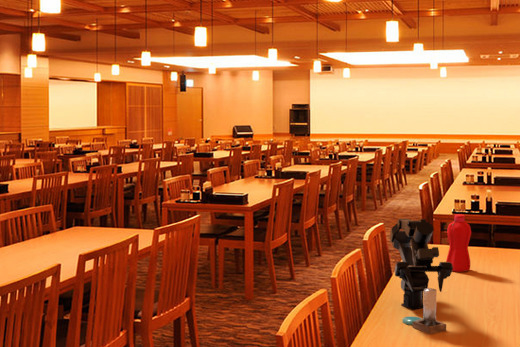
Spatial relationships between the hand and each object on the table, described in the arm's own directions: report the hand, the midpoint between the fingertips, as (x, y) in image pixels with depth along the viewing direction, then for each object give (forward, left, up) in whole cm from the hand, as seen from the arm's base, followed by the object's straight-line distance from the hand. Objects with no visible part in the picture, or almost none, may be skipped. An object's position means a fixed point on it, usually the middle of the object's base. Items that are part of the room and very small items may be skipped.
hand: (426, 291), depth 215 cm
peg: (+2, +4, -11) cm, 12 cm away
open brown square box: (+2, +4, -11) cm, 12 cm away
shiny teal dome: (+2, -4, -11) cm, 12 cm away
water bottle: (-64, -50, -11) cm, 82 cm away
